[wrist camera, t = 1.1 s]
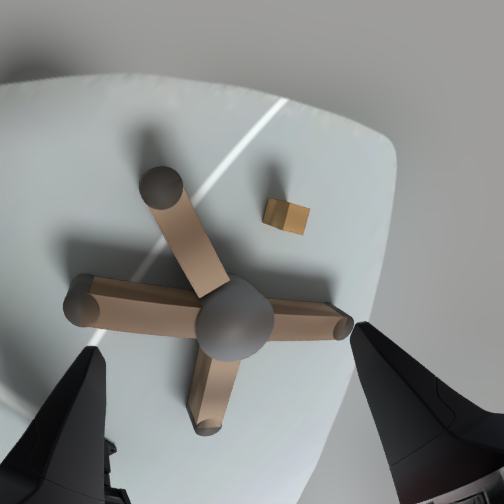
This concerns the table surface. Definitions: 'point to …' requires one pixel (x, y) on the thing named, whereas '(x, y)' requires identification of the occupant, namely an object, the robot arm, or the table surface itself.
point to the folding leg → (182, 229)
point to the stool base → (209, 321)
